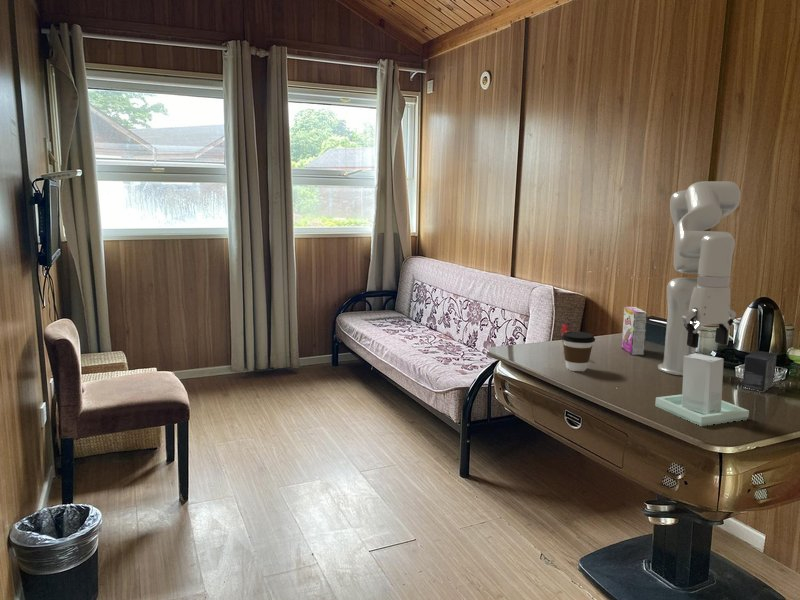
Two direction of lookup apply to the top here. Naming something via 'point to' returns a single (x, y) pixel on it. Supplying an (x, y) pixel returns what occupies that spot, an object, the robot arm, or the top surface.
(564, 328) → the decorative bird figurine
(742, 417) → the tray
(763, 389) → the small box
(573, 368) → the coffee cup
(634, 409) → the top surface
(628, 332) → the candy bar box
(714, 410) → the skincare box
